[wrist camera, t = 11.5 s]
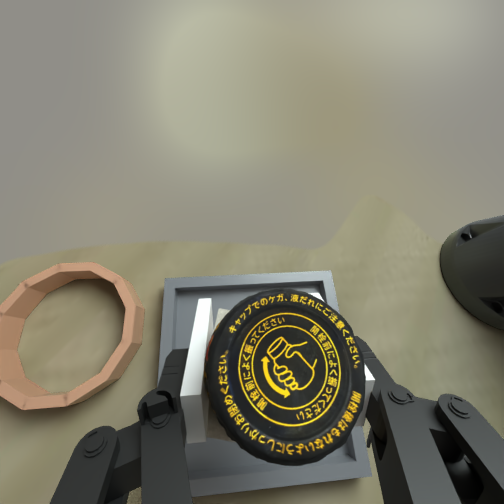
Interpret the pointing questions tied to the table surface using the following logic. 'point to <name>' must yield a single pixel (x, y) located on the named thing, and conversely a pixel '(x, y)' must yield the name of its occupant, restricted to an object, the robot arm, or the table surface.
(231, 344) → the condiment
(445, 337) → the table surface
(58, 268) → the ring holder
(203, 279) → the tray
